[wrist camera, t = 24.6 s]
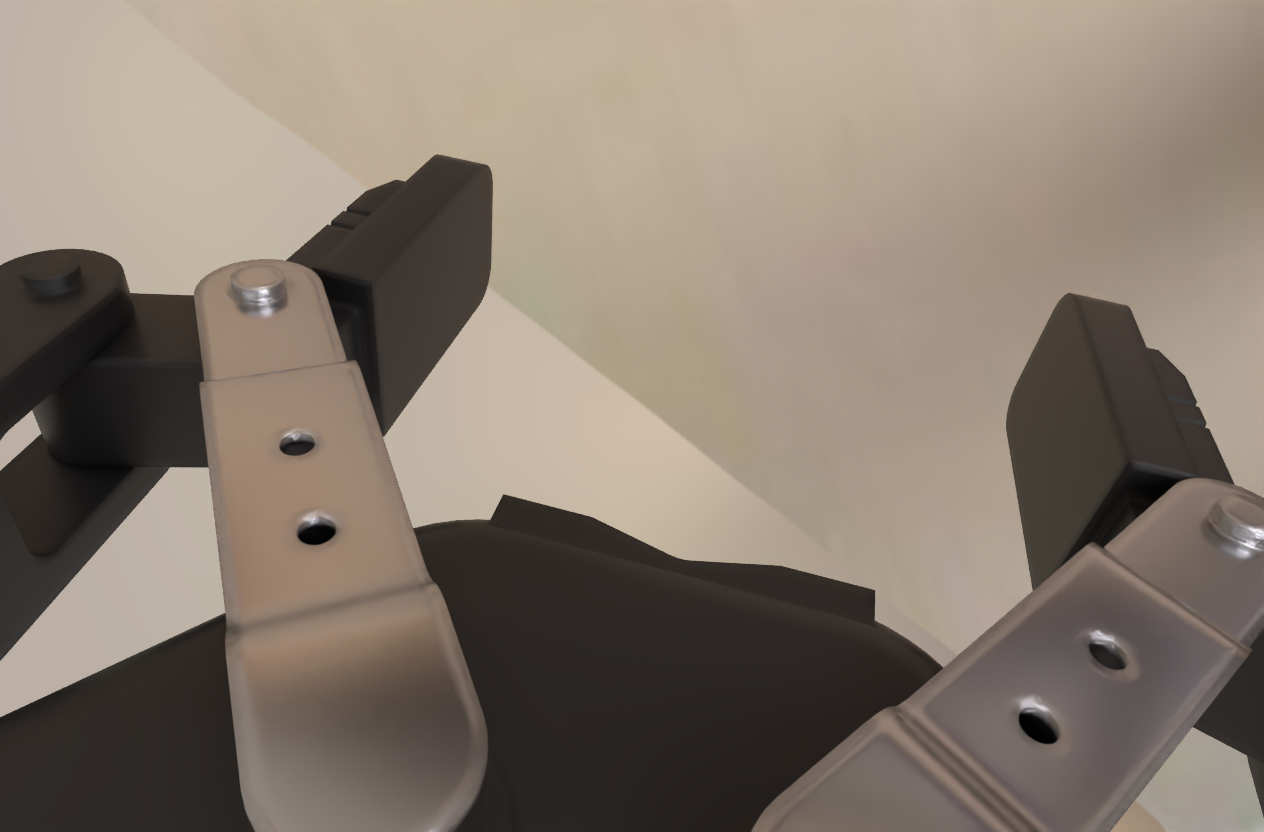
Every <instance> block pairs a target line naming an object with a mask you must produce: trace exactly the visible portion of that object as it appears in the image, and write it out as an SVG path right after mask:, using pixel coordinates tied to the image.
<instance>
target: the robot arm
mask: <svg viewBox="0 0 1264 832" xmlns="http://www.w3.org/2000/svg"><path fill="white" fill-rule="evenodd" d="M492 197H493V180H492V173H491V170H490V168H489V166H488V165H485V164H480V163H475V162H471V161H466V160H462V159H457V158H452V157H448V156H443V155H438V154H437V155H435V156H433V157H432V158H431V159H430V160H429V161H428V162H427V163H426V164H424V165H423V166H422V167H421V168H420V169H419V170H418V171H417V172H416V173H415V174H414V175H412V176H411V177H410V178H409V179H408V180H407V181H406V182H404V181H400V180H394V181H392V182H389V183H387V184H384V185H381V186H379V187H376V188H373V189H371V190H368V191H366V192H365V193H364V194H362V195H361V196H360V197H359V198H358V199H356V200H355V201H354V202H353V203H352V204H351V205H350V206H348V207H347V211H346V212H345V211H343V212H341V213H340V214H339V215H338V216H337V217H336V218H335V219H333V220H332V222H331V225H326V226H325V227H324V228H323V229H322V230H321V231H320V232H318V233H317V234H316V235H315V236H314V237H313V238H311V240H309V241H308V242H307V243H306V244H304V246H302V247H301V248H300V249H299V250H298V251H296V252H295V253H294V254H293V255H292V256H291V257H290V258H288V259H287V260H286V261H283V260H272V259H260V260H249V261H242V262H238V263H233V264H230V265H227V266H224V267H222V268H219V269H217V270H215V271H213V272H212V273H210V274H208V275H207V276H205V277H204V278H203V279H202V280H201V281H200V282H199V283H198V285H197V286H196V289H195V291H194V295H193V296H191V295H190V296H189V295H163V294H137V293H130V291H129V288H128V284H127V281H126V277H125V274H124V270H123V268H122V266H121V264H120V263H119V262H118V261H117V260H115V259H114V258H112V257H110V256H108V255H106V254H103V253H99V252H96V251H90V250H83V249H57V250H48V251H42V252H36V253H32V254H28V255H25V256H22V257H19V258H15V259H13V260H11V261H8V262H6V263H4V264H2V265H0V440H1V439H2V437H3V436H4V435H5V433H6V432H7V431H8V430H9V429H10V428H12V427H13V426H14V425H15V424H16V423H17V422H19V421H20V420H21V419H22V418H23V417H24V416H25V415H27V414H28V413H29V412H30V411H31V410H32V411H33V413H34V416H35V418H36V421H37V423H38V426H39V428H40V431H41V433H42V434H41V435H39V436H38V437H37V438H36V439H35V440H34V441H33V442H32V443H31V444H29V445H28V446H27V447H26V448H25V449H24V450H23V451H22V452H21V453H20V454H18V455H17V456H16V457H15V458H14V459H13V460H12V461H11V462H10V463H8V464H7V465H6V466H5V467H4V468H3V469H2V470H1V471H0V660H1V659H2V658H3V657H4V656H5V655H6V654H7V653H8V652H9V650H10V649H11V648H12V647H13V646H14V644H16V642H17V641H18V640H19V639H20V638H21V637H22V636H23V634H24V633H25V632H26V631H27V630H28V629H29V628H30V626H31V625H32V624H33V623H34V622H35V621H36V620H37V619H38V617H39V616H40V615H41V614H42V613H43V612H44V611H45V610H46V608H47V607H48V606H49V605H50V604H51V603H52V602H53V600H54V599H55V598H56V597H57V596H58V595H59V594H60V592H61V591H62V590H63V589H64V588H65V587H66V586H67V584H68V583H69V582H70V581H71V580H72V579H73V578H74V577H75V575H76V574H77V573H78V572H79V571H80V570H81V569H82V567H83V566H84V565H85V564H86V563H87V562H88V561H89V560H90V558H91V557H92V556H93V555H94V554H95V553H96V552H97V550H98V549H99V548H100V547H101V546H102V545H103V544H104V542H105V541H106V540H107V539H108V538H109V537H110V536H111V534H112V533H113V532H114V531H115V530H116V529H117V528H118V526H119V525H120V524H121V523H122V522H123V521H124V520H125V519H126V517H127V516H128V515H129V514H130V513H131V512H132V511H133V509H134V508H135V507H136V506H137V505H138V503H140V501H141V500H142V499H143V498H144V497H145V496H146V495H147V494H148V492H149V491H150V490H151V489H152V488H153V487H154V486H155V484H156V483H157V482H158V481H159V480H160V479H161V478H162V476H163V475H164V474H165V473H166V472H167V471H168V469H169V468H170V467H209V474H210V482H211V492H212V499H213V509H214V516H215V526H216V534H217V543H218V551H219V561H220V569H221V578H222V586H223V594H224V603H225V612H226V613H224V614H222V615H219V616H217V617H215V618H213V619H211V620H209V621H207V622H204V623H202V624H200V625H198V626H196V627H194V628H191V629H189V630H187V631H185V632H183V633H181V634H179V635H176V636H174V637H173V638H170V639H168V640H166V641H163V642H162V643H159V644H157V645H155V646H153V647H151V648H149V649H146V650H144V651H142V652H140V653H138V654H136V655H133V656H131V657H129V658H127V659H125V660H123V661H121V662H118V663H116V664H114V665H112V666H110V667H107V668H106V669H103V670H101V671H99V672H97V673H95V674H92V675H90V676H88V677H86V678H84V679H82V680H80V681H77V682H75V683H73V684H71V685H69V686H67V687H65V688H62V689H60V690H58V691H56V692H54V693H52V694H49V695H47V696H45V697H43V698H41V699H39V700H37V701H35V702H33V703H30V704H28V705H26V706H24V707H21V708H19V709H17V710H15V711H13V712H11V713H9V714H6V715H4V716H2V717H0V832H1110V831H1111V830H1112V829H1113V827H1114V826H1115V825H1116V824H1117V822H1118V821H1119V820H1120V818H1121V817H1122V816H1123V815H1124V813H1125V812H1126V811H1127V810H1128V808H1129V807H1130V806H1131V804H1132V803H1133V802H1134V801H1135V799H1136V798H1137V797H1138V796H1139V794H1140V793H1141V792H1142V791H1143V789H1144V788H1145V787H1146V785H1147V784H1148V783H1149V782H1150V780H1151V779H1152V778H1153V777H1154V775H1155V774H1156V773H1157V771H1158V770H1159V769H1160V768H1161V766H1162V765H1163V764H1164V763H1165V761H1166V760H1167V759H1168V757H1169V756H1170V755H1171V754H1172V752H1173V751H1174V750H1175V749H1176V747H1177V746H1178V745H1179V743H1180V742H1181V741H1182V740H1183V738H1184V737H1185V736H1186V735H1187V733H1188V732H1189V731H1190V729H1191V728H1192V727H1194V728H1196V729H1198V730H1199V731H1201V732H1203V733H1205V734H1207V735H1209V736H1211V737H1213V738H1215V739H1217V740H1219V741H1221V742H1222V743H1224V744H1226V745H1228V746H1230V747H1232V748H1234V749H1236V750H1238V751H1240V752H1242V753H1243V754H1245V755H1247V757H1248V763H1249V767H1250V770H1251V774H1252V777H1253V781H1254V784H1255V788H1256V792H1257V795H1258V799H1259V802H1260V806H1261V809H1262V813H1263V816H1264V498H1262V497H1260V496H1259V495H1257V494H1255V493H1253V492H1251V491H1248V490H1246V489H1244V488H1242V487H1239V486H1236V485H1234V482H1233V480H1232V478H1231V476H1230V474H1229V471H1228V469H1227V467H1226V465H1225V463H1224V460H1223V458H1222V456H1221V454H1220V452H1219V450H1218V447H1217V445H1216V443H1215V441H1214V439H1213V436H1212V434H1211V432H1210V430H1209V429H1208V428H1205V425H1206V421H1205V419H1204V417H1203V415H1202V412H1201V410H1200V408H1199V407H1196V403H1197V401H1196V399H1195V397H1194V395H1193V393H1192V390H1191V388H1190V386H1189V384H1188V382H1187V380H1186V377H1185V376H1184V375H1183V374H1182V373H1181V372H1180V371H1179V370H1178V369H1177V368H1176V367H1175V366H1174V365H1173V364H1172V363H1171V362H1170V361H1169V360H1168V359H1167V358H1166V357H1165V356H1164V355H1163V354H1162V353H1161V352H1160V351H1159V350H1155V349H1150V348H1147V347H1146V345H1145V343H1144V340H1143V338H1142V335H1141V333H1140V331H1139V328H1138V326H1137V323H1136V321H1135V319H1134V316H1133V314H1132V311H1131V309H1130V308H1129V307H1128V306H1126V305H1122V304H1118V303H1113V302H1108V301H1104V300H1099V299H1095V298H1090V297H1085V296H1081V295H1076V294H1072V293H1068V294H1066V295H1064V296H1063V297H1062V298H1061V300H1060V301H1059V302H1058V304H1057V305H1056V307H1055V309H1054V310H1053V312H1052V314H1051V316H1050V318H1049V320H1048V322H1047V324H1046V326H1045V328H1044V330H1043V332H1042V334H1041V336H1040V338H1039V340H1038V342H1037V344H1036V346H1035V348H1034V350H1033V352H1032V354H1031V356H1030V358H1029V360H1028V362H1027V364H1026V366H1025V368H1024V370H1023V372H1022V374H1021V376H1020V378H1019V380H1018V382H1017V384H1016V386H1015V388H1014V391H1013V393H1012V396H1011V399H1010V403H1009V407H1008V412H1007V420H1006V430H1007V437H1008V443H1009V449H1010V455H1011V461H1012V467H1013V473H1014V479H1015V485H1016V491H1017V497H1018V504H1019V510H1020V516H1021V522H1022V528H1023V534H1024V540H1025V546H1026V552H1027V558H1028V564H1029V570H1030V576H1031V583H1032V589H1033V592H1031V593H1030V594H1029V595H1028V596H1027V597H1026V598H1024V599H1023V600H1022V601H1021V602H1020V603H1019V604H1017V605H1016V606H1015V607H1014V608H1013V609H1012V610H1010V611H1009V612H1008V613H1007V614H1006V615H1005V616H1003V617H1002V618H1001V619H1000V620H999V621H998V622H997V623H995V624H994V625H993V626H992V627H991V628H990V629H988V630H987V631H986V632H985V633H984V634H983V635H981V636H980V637H979V638H978V639H977V640H976V641H974V642H973V643H972V644H971V645H970V646H969V647H967V648H966V649H965V650H964V651H963V652H962V653H960V654H959V655H958V656H957V657H956V658H955V659H954V660H952V661H951V662H950V663H949V664H948V665H946V666H945V667H944V668H943V667H942V666H941V665H940V664H939V663H937V662H936V661H935V660H934V659H933V658H932V657H931V656H930V655H928V654H927V653H926V652H925V651H923V650H922V649H921V648H919V647H918V646H916V645H915V644H913V643H912V642H911V641H909V640H908V639H907V638H905V637H903V636H902V635H900V634H898V633H897V632H895V631H893V630H892V629H890V628H888V627H886V626H885V625H883V624H880V623H878V622H877V621H875V620H874V619H875V590H872V589H868V588H864V587H860V586H857V585H853V584H849V583H845V582H841V581H837V580H833V579H829V578H826V577H822V576H818V575H814V574H810V573H806V572H802V571H798V570H795V569H791V568H787V567H783V566H774V565H757V564H738V563H722V562H721V563H720V562H704V561H689V560H683V559H679V558H676V557H673V556H671V555H668V554H667V553H665V552H663V551H660V550H658V549H656V548H654V547H652V546H650V545H648V544H646V543H644V542H642V541H640V540H638V539H635V538H634V537H632V536H629V535H627V534H625V533H623V532H621V531H619V530H617V529H615V528H613V527H611V526H609V525H607V524H605V523H603V522H601V521H599V520H597V519H595V518H592V517H589V516H585V515H582V514H577V513H574V512H570V511H566V510H562V509H558V508H555V507H550V506H547V505H542V504H539V503H535V502H531V501H527V500H523V499H519V498H516V497H512V496H508V495H503V496H502V498H501V500H500V502H499V504H498V506H497V508H496V510H495V512H494V514H493V516H492V518H491V520H478V519H477V520H456V521H449V522H441V523H434V524H430V525H426V526H422V527H418V528H413V527H412V524H411V521H410V518H409V515H408V512H407V509H406V506H405V503H404V500H403V497H402V494H401V491H400V488H399V485H398V482H397V479H396V476H395V473H394V470H393V467H392V463H391V460H390V457H389V454H388V451H387V448H386V445H385V442H384V440H383V437H384V436H385V434H386V433H387V432H388V430H389V429H390V428H391V426H392V425H393V423H394V422H395V421H396V419H397V418H398V416H399V415H400V414H401V412H402V411H403V410H404V408H405V407H406V405H407V404H408V403H409V401H410V400H411V399H412V397H413V396H414V394H415V393H416V392H417V390H418V389H419V388H420V386H421V385H422V383H423V382H424V380H425V379H426V378H427V377H428V375H429V374H430V372H431V371H432V369H433V368H434V367H435V365H436V364H437V362H438V361H439V360H440V359H441V357H442V356H443V354H444V353H445V351H446V350H447V349H448V347H449V346H450V345H451V343H452V342H453V340H454V339H455V338H456V336H457V335H458V334H459V332H460V331H461V330H462V328H463V327H464V325H465V324H466V323H467V321H468V320H469V319H470V317H471V316H472V314H473V313H474V312H475V310H476V309H477V308H478V306H479V305H480V303H481V301H482V299H483V297H484V295H485V292H486V289H487V285H488V281H489V277H490V270H491V246H492Z"/></svg>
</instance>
